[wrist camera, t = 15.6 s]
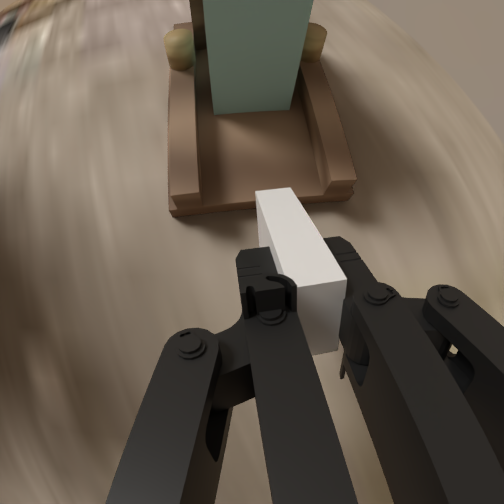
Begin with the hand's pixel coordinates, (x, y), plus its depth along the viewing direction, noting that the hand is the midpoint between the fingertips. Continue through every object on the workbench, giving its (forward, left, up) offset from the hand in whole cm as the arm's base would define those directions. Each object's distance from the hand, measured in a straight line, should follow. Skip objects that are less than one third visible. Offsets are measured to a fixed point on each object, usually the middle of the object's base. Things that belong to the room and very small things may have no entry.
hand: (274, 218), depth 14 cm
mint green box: (-4, +12, -4) cm, 13 cm away
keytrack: (-3, +9, -5) cm, 11 cm away
